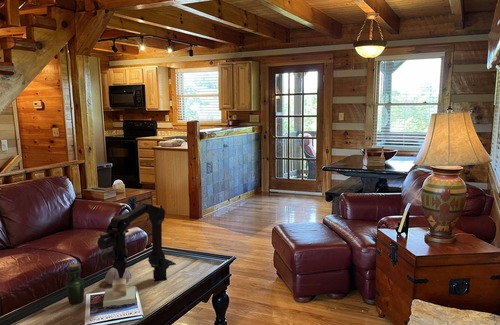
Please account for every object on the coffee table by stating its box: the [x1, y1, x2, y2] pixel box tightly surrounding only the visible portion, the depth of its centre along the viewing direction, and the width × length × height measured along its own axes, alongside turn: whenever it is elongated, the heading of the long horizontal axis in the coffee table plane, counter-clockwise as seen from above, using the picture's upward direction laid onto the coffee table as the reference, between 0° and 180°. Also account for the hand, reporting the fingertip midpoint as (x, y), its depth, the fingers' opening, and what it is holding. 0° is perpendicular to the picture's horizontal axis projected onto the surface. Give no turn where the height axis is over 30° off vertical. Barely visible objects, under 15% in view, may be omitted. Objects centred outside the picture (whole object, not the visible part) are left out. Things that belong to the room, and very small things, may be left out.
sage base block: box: [102, 285, 136, 307], centre depth 187 cm, size 14×14×3 cm
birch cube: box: [111, 279, 128, 297], centre depth 187 cm, size 6×6×6 cm
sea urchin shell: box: [104, 267, 132, 286], centre depth 208 cm, size 13×14×8 cm
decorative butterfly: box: [165, 258, 177, 265], centre depth 231 cm, size 10×6×10 cm
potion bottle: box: [65, 263, 85, 305], centre depth 185 cm, size 8×8×18 cm
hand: (121, 274), depth 188 cm, fingers open, 9 cm apart
